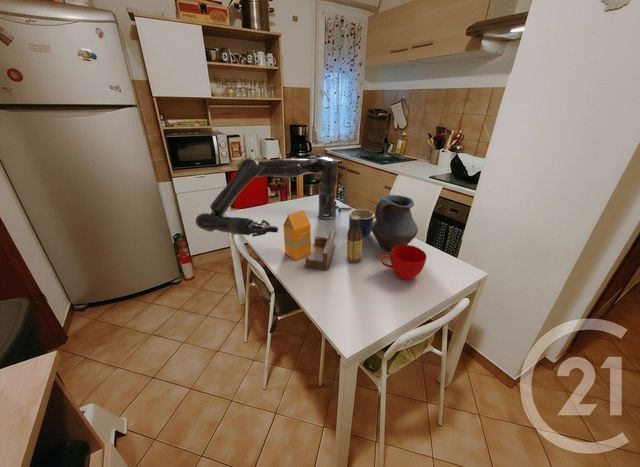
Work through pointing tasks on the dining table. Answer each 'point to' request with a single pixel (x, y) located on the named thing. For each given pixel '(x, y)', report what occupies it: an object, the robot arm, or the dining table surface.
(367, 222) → the planter
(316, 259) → the wooden stand
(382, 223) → the pitcher
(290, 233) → the orange juice
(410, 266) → the ceramic cup
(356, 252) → the sauce bottle
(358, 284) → the dining table surface
